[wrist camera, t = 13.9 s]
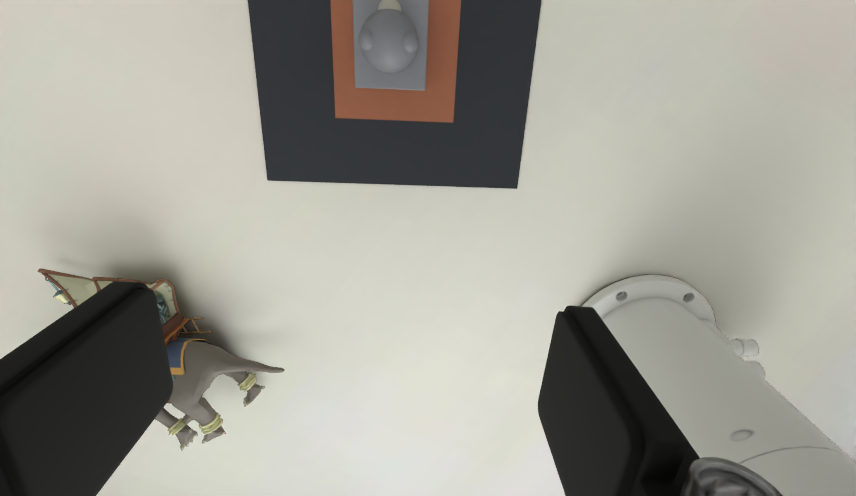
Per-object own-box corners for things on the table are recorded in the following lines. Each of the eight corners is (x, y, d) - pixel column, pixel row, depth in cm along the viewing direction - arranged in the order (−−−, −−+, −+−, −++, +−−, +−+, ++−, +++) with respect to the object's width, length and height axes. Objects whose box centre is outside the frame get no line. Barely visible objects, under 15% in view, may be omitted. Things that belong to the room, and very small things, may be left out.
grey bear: (426, 3, 27) (431, -15, 20) (423, 86, 28) (427, 94, 22) (361, -1, 26) (344, -20, 20) (362, 83, 28) (347, 90, 22)
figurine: (85, 487, 35) (-84, 326, 29) (133, 428, 41) (0, 282, 34) (298, 424, 32) (157, 224, 25) (319, 369, 37) (208, 194, 31)
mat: (556, -120, 24) (557, -121, 24) (516, 188, 32) (517, 188, 32) (232, -142, 24) (232, -143, 23) (268, 180, 31) (267, 180, 31)
